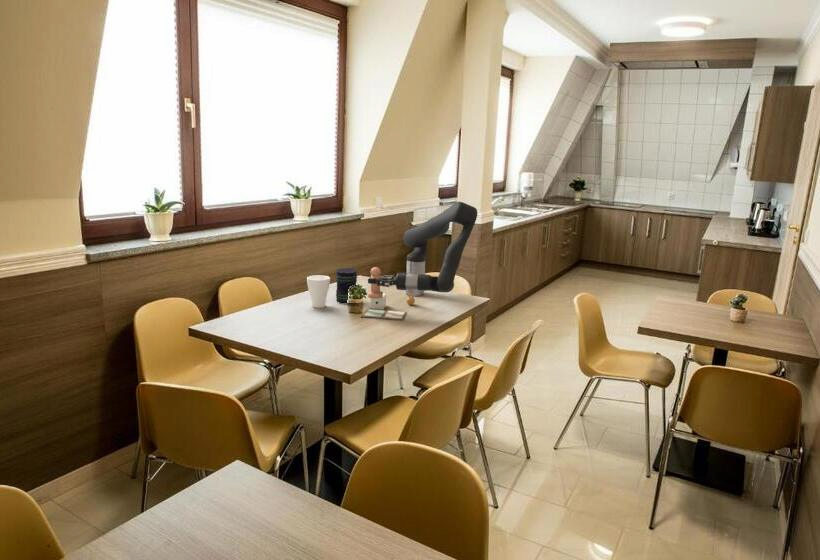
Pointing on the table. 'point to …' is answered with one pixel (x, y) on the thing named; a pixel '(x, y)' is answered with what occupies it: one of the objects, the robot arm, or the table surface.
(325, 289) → the cup
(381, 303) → the die
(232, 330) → the table surface
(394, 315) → the game board
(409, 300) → the figurine
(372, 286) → the pawn
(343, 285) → the storage jar
